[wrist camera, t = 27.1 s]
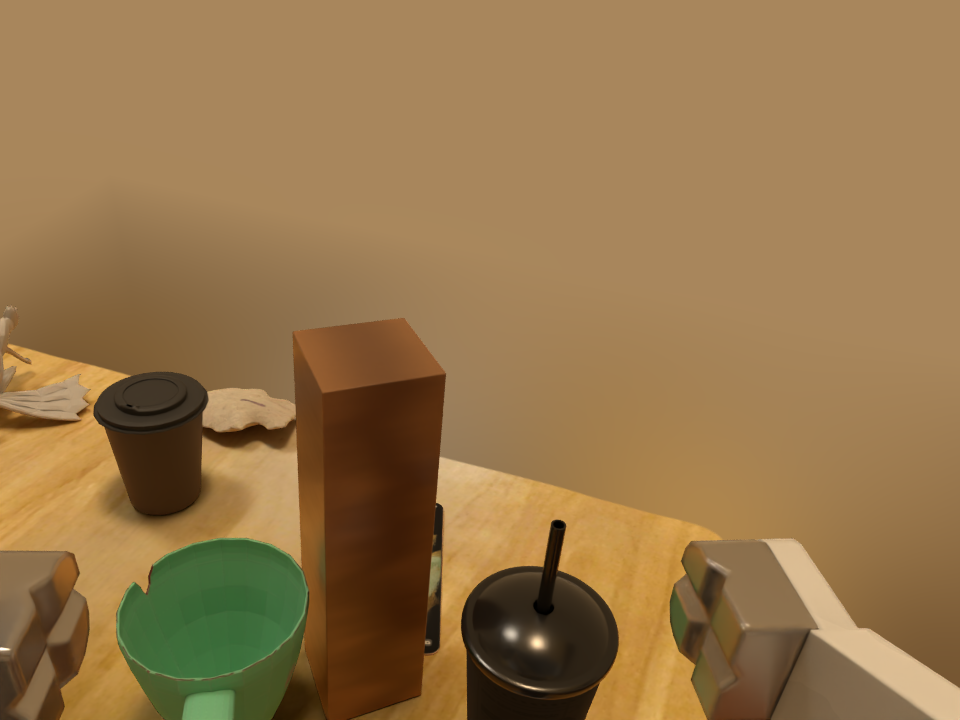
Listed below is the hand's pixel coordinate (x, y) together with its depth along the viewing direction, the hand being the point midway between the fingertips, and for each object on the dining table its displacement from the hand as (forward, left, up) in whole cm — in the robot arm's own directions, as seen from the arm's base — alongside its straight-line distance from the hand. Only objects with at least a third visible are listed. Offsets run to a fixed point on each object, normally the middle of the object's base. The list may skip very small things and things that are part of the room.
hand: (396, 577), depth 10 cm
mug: (-2, +21, -35) cm, 41 cm away
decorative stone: (+4, +54, -35) cm, 65 cm away
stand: (+7, +24, -35) cm, 43 cm away
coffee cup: (-3, +46, -35) cm, 58 cm away
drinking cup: (+13, +14, -35) cm, 40 cm away
